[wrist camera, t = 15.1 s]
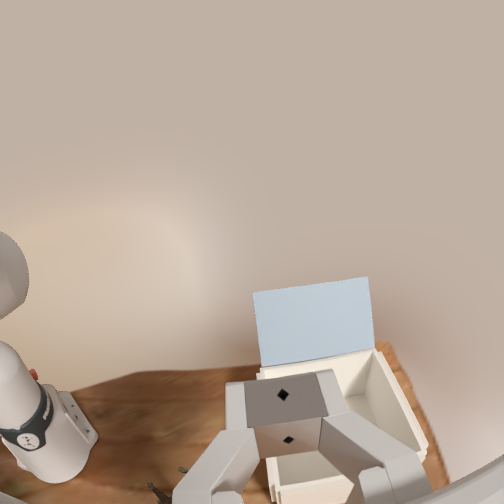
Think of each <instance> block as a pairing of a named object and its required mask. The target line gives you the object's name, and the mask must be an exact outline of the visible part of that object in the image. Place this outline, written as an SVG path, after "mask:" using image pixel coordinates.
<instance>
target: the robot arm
mask: <svg viewBox="0 0 504 504" xmlns="http://www.w3.org/2000/svg"><path fill="white" fill-rule="evenodd" d="M28 286H29V273H28V267H27V263H26V259H25V257H24V255H23V253H22V251H21V249H20V248H19V246H18V245H17V243H16V242H15V241H14V240H13V239H12V238H11V237H9V236H8V235H6V234H5V233H3V232H0V320H1V319H2V318H4V317H5V316H7V315H8V314H9V313H11V312H12V311H13V310H15V309H16V308H17V307H18V306H20V305H21V304H22V303H24V301H25V298H26V296H27V291H28ZM35 380H38V376H37V373H36V372H35V370H34V369H32V370H30V371H28V370H27V368H26V366H25V364H24V363H23V361H22V360H21V358H20V356H19V355H18V353H17V352H16V351H15V350H14V349H13V348H12V347H11V346H9V345H8V344H6V343H5V342H2V341H0V435H1V436H2V441H3V443H4V444H5V445H6V446H7V448H8V449H9V450H10V451H11V452H12V453H13V454H14V456H15V457H16V458H17V464H18V465H19V466H20V467H21V468H22V469H24V470H27V471H30V472H32V473H33V474H34V475H35V476H36V477H37V478H39V479H40V480H42V481H45V482H48V483H61V482H65V481H68V480H70V479H72V478H73V477H75V476H76V475H77V474H78V473H79V472H80V471H81V470H82V469H83V467H84V466H85V464H86V462H87V459H88V456H89V452H90V450H91V448H92V446H93V445H94V444H95V442H96V441H97V439H98V434H97V432H96V431H95V429H94V428H93V427H92V425H91V424H90V422H89V421H88V419H87V418H86V416H85V415H84V413H83V412H82V410H81V409H80V407H79V406H78V404H77V403H76V401H75V400H74V398H73V397H72V395H71V394H70V393H69V392H67V391H59V392H57V390H56V389H55V387H54V386H52V385H49V384H43V385H40V384H39V383H38V382H37V381H35ZM225 422H226V430H220V431H219V433H218V434H217V435H216V437H215V438H214V439H213V441H212V442H211V443H210V445H209V446H208V447H207V448H206V450H205V451H204V452H203V454H202V455H201V456H200V457H199V459H198V460H197V461H196V462H195V464H194V465H193V466H192V467H191V469H190V470H189V471H188V472H187V474H186V475H185V476H184V477H183V479H182V480H181V481H180V482H179V483H178V485H177V486H176V487H175V488H174V489H173V496H172V504H244V502H243V500H242V497H241V493H242V491H243V489H244V488H245V486H246V484H247V483H248V481H249V479H250V477H251V476H252V474H253V472H254V470H255V468H256V467H257V465H258V463H259V461H260V459H263V458H270V457H277V456H284V455H290V454H297V453H304V452H311V451H317V450H319V451H318V452H319V453H321V454H322V455H323V456H324V457H325V458H326V459H327V460H328V461H329V462H330V463H331V464H332V465H333V466H334V467H335V468H336V469H338V470H339V471H340V472H341V473H342V474H343V475H344V476H345V477H346V478H347V479H349V480H350V481H351V482H352V483H353V484H354V486H353V488H352V490H351V492H350V494H349V496H348V498H347V500H346V502H345V504H504V454H503V455H502V456H500V457H499V458H497V459H495V460H494V461H492V462H490V463H489V464H487V465H485V466H483V467H482V468H480V469H478V470H476V471H474V472H473V473H471V474H469V475H467V476H465V477H463V478H461V479H459V480H457V481H455V482H453V483H451V484H449V485H447V486H445V487H443V488H440V489H438V490H436V491H434V492H433V490H432V488H431V485H430V483H429V480H428V478H427V476H426V473H425V471H424V468H423V466H422V464H421V461H420V459H419V457H418V454H417V452H415V451H414V450H412V449H411V448H409V447H407V446H406V445H404V444H403V443H401V442H400V441H398V440H396V439H395V438H393V437H392V436H390V435H389V434H387V433H386V432H384V431H383V430H381V429H380V428H378V427H377V426H375V425H374V424H372V423H371V422H369V421H368V420H366V419H365V418H363V417H362V416H360V415H359V414H358V413H356V412H355V411H350V412H348V409H347V406H346V403H345V400H344V398H343V395H342V392H341V389H340V386H339V384H338V381H337V378H336V376H335V373H334V370H333V369H332V368H331V369H325V370H320V371H314V372H307V373H302V374H296V375H289V376H283V377H279V378H271V379H261V380H250V381H240V382H228V383H226V386H225ZM89 431H90V432H89ZM88 432H89V433H88ZM0 504H28V503H26V502H23V501H21V500H18V499H16V498H13V497H11V496H9V495H6V494H4V493H2V492H0Z"/></svg>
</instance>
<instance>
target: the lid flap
mask: <svg viewBox="0 0 504 504" xmlns="http://www.w3.org/2000/svg"><path fill="white" fill-rule="evenodd" d="M253 300H254V308H255V316H256V324H257V332H258V341H259V349H260V357H261V365H262V367H265V366H272V365H280V364H287V363H294V362H300V361H307V360H313V359H319V358H324V357H330V356H335V355H341V354H346V353H351V352H356V351H361V350H365V349H370V348H375V344H374V332H373V320H372V311H371V301H370V292H369V284H368V277H361V278H355V279H348V280H341V281H335V282H328V283H321V284H314V285H306V286H299V287H292V288H284V289H277V290H269V291H261V292H253Z"/></svg>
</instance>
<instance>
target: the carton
mask: <svg viewBox="0 0 504 504" xmlns="http://www.w3.org/2000/svg"><path fill="white" fill-rule="evenodd" d="M331 368H332V369H333V370H334V373H335V376H336V378H337V381H338V384H339V386H340V389H341V392H342V395H343V398H344V400H345V403H346V406H347V409H348V412H350V411H355V412H356V413H358V414H359V415H360V416H362V417H363V418H365V419H366V420H368V421H369V422H371V423H372V424H374V425H375V426H377V427H378V428H380V429H381V430H383V431H384V432H386V433H387V434H389V435H390V436H392V437H393V438H395V439H396V440H398V441H400V442H401V443H403V444H404V445H406V446H407V447H409V448H411V449H412V450H414V451H415V452H417V454H418V457H419V459H420V461H421V463H422V462H423V461H424V459H425V458H426V457H425V455H426V454H427V450H426V448H427V447H428V445H429V444H428V442H427V440H426V438H425V436H424V434H423V431H422V429H421V427H420V425H419V423H418V421H417V419H416V417H415V415H414V413H413V411H412V409H411V407H410V405H409V403H408V401H407V399H406V397H405V395H404V394H403V392H402V390H401V388H400V386H399V384H398V382H397V380H396V378H395V376H394V374H393V373H392V371H391V369H390V367H389V365H388V363H387V361H386V360H385V358H384V356H383V354H382V352H377V350H376V348H374V349H369V350H365V351H360V352H355V353H350V354H345V355H340V356H335V357H329V358H324V359H318V360H312V361H306V362H299V363H293V364H286V365H279V366H271V367H264V368H260V373H256V376H257V380H261V379H271V378H279V377H283V376H289V375H296V374H302V373H307V372H314V371H320V370H325V369H331ZM318 451H319V450H317V451H311V452H304V453H297V454H290V455H284V456H277V457H270V458H266V464H267V473H268V481H269V488H270V493H271V499H272V502H275V501H277V504H342V503H345V502H346V500H347V498H348V496H349V494H350V492H351V490H352V488H353V486H354V484H353V483H352V482H351V481H350V480H349V479H347V478H346V477H345V476H344V475H343V474H342V473H341V472H340V471H339V470H338V469H336V468H335V467H334V466H333V465H332V464H331V463H330V462H329V461H328V460H327V459H326V458H325V457H324V456H323V455H322V454H321V453H319V452H318Z"/></svg>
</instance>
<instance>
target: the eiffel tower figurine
mask: <svg viewBox="0 0 504 504" xmlns="http://www.w3.org/2000/svg"><path fill="white" fill-rule="evenodd" d="M178 471H180V472H182V473H186V474H187V472H188V471H187V470H185V469H183V468H181V467H180V468H179V469H178ZM148 487H149V488H151V489H152V490H153V492H154V493H155V494H156V496H157V497H158V498H159V500H160V501H157V502H158V504H172V497H168V496H166V495H165V494H163V493H162V492H161V491H160V490H158V489H157V488H156V487H155V486H154V485H153V483H148Z"/></svg>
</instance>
